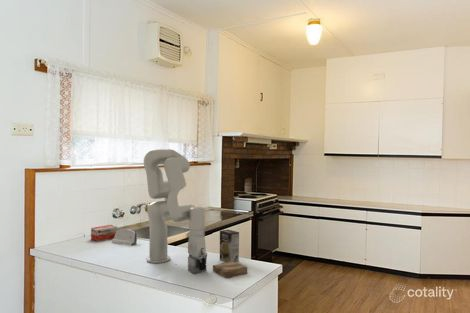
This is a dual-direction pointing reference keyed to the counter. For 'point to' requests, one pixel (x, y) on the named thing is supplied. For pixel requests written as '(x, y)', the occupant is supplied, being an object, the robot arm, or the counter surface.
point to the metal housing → (194, 265)
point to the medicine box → (103, 232)
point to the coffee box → (229, 246)
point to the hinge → (125, 237)
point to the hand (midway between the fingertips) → (197, 267)
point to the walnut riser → (230, 269)
